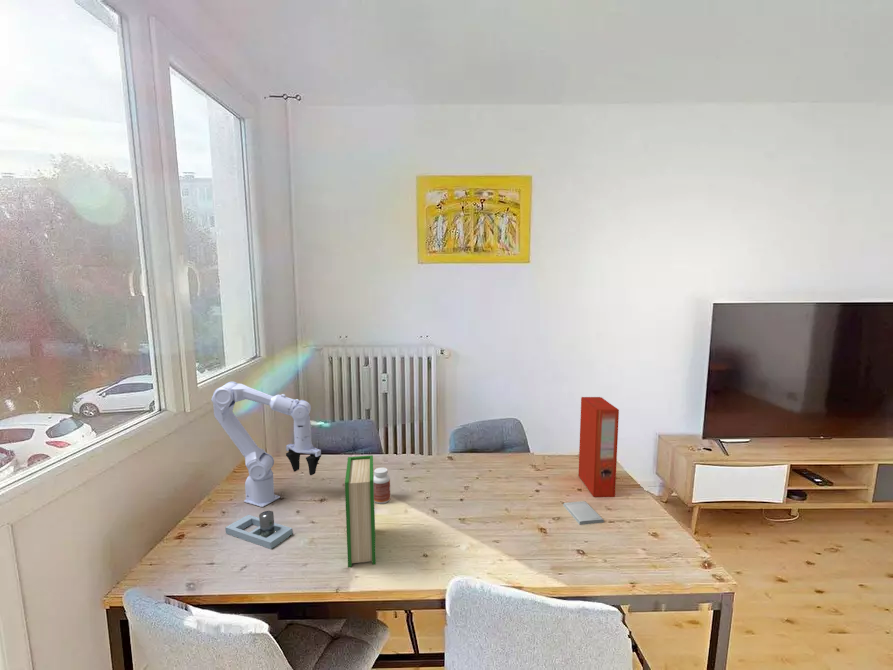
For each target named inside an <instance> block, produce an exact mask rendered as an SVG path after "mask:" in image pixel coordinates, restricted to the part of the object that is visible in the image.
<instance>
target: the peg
mask: <svg viewBox="0 0 893 670" xmlns="http://www.w3.org/2000/svg"><path fill="white" fill-rule="evenodd" d="M274 517H275V516H274V511H272V510H264V511H263V512H260V513H259V515H258V518H259V520H260V534H261V536H262V537H265V538H267V537H269V536H270V535H272V534H273V533H275V529H274V523H275V518H274Z"/></svg>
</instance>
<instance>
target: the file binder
mask: <svg viewBox="0 0 893 670" xmlns="http://www.w3.org/2000/svg"><path fill="white" fill-rule="evenodd" d="M619 416H620V409H619V408H617V407H616V406H614V405H613V404H611V403H610V402H609V401H607V400H606V399H604V397H602V396H581V397H580V418H579V419H580V420H579V421H580V423H579V424H580V425H579V427H580V428H579V451H578V477H579V479H580V480H581V482H582V483H583V485H584V486H585V487H586V488H587V490H588V491H589V493H590V494H591V496H592V497H594V498H615V497H616V479H617V460H618V440H619V438H618V436H619V419H620V417H619Z"/></svg>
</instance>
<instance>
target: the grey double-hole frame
mask: <svg viewBox="0 0 893 670" xmlns="http://www.w3.org/2000/svg"><path fill="white" fill-rule="evenodd" d="M252 525H254V526H256V528H254V529H252V530H251V531H247V530H245V529H246V527H247V528H248V527H250V526H252ZM274 529H275V531H276V532H275V533H273V534H272V535H270V536H269V537H267V538H265V537H262V536H261V534H260V520H259V516H258V517H257V516H255V515H251V514H247V515H245V516H243V517H241V518H240V519H237V520H236V521H234V522H232V523H230V524H229V525H226V526H225V534H226V535H229V536H231V537H235V538H237V537H238V539H240V540H244V541H246V542H249V543H252V544H255V545H258V546H261V547H264V548H267V549H269V550H272V549H274V548H275V547H277V546H278V545H280V542H281V543H282V542H284V541H285V540H286V538H287V539H288V538H289V536H290V535H291V536H293V535H292V534H293V533H294V532H293V527H290V526H287V525H283V524H280V523H276V522H274ZM291 536H290V537H291ZM283 540H284V541H283Z"/></svg>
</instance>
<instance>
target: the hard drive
mask: <svg viewBox="0 0 893 670" xmlns="http://www.w3.org/2000/svg"><path fill="white" fill-rule="evenodd" d="M562 505H563V508H565V510H566V511H567V512H568V513H569V514H570V516H572V518H573V519H574V520H575V522H577V524H578V525H579V526H580V525H589V524H590V525H591V524H600V523H604V522H605V521H604V519H603V518H602V517H601V515H599V513H598V512H597V511H596V510H595V509H594V508H593V507H592V506H590V504H589V503H588V502H587V501H585V500H582V501H573V502H572V501H571V502H563V503H562Z"/></svg>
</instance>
